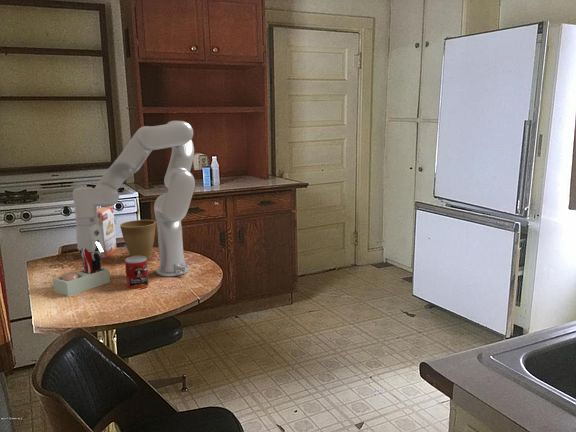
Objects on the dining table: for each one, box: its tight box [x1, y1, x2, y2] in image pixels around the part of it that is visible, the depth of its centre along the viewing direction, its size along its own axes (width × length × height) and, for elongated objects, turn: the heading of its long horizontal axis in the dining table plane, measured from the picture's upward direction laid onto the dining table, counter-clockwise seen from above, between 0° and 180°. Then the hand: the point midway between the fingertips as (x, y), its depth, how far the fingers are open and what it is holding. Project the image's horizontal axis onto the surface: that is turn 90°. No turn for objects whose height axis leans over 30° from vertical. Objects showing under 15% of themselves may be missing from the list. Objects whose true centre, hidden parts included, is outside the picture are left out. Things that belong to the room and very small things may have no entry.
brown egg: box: [61, 271, 78, 281], centre depth 179 cm, size 5×5×6 cm
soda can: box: [82, 246, 100, 274], centre depth 185 cm, size 5×5×12 cm
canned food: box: [124, 255, 150, 291], centre depth 183 cm, size 8×8×11 cm
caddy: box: [52, 267, 111, 297], centre depth 183 cm, size 8×17×6 cm, turn 146°
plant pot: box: [119, 219, 157, 260], centre depth 218 cm, size 15×15×16 cm
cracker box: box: [97, 206, 117, 259], centre depth 225 cm, size 14×6×21 cm, turn 179°
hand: (92, 268), depth 186 cm, fingers closed on soda can, 4 cm apart
